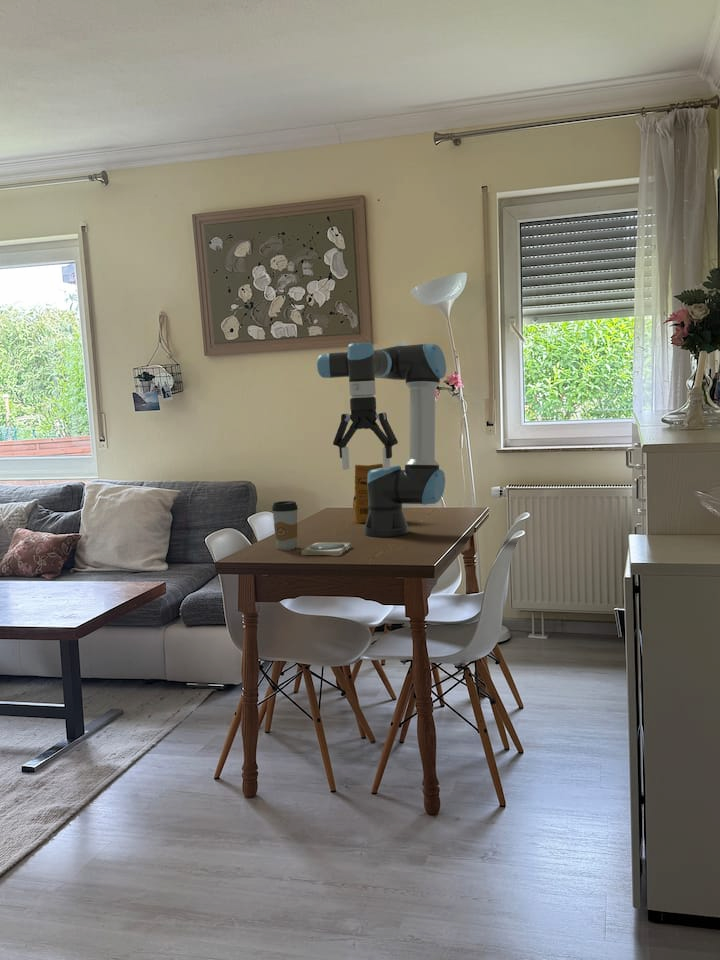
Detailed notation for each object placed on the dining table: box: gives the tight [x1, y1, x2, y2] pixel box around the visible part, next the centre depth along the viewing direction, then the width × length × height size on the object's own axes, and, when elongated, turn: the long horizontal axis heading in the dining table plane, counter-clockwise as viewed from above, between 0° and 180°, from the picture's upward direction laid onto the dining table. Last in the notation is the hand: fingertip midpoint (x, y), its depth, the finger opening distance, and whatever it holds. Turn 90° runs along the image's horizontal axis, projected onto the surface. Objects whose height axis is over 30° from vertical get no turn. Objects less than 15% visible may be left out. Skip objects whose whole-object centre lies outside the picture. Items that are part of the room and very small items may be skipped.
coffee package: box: [352, 463, 383, 524], centre depth 326 cm, size 10×12×22 cm
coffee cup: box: [271, 500, 299, 551], centre depth 278 cm, size 8×8×15 cm
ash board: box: [301, 541, 353, 557], centre depth 270 cm, size 14×12×2 cm
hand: (366, 469), depth 251 cm, fingers open, 13 cm apart
